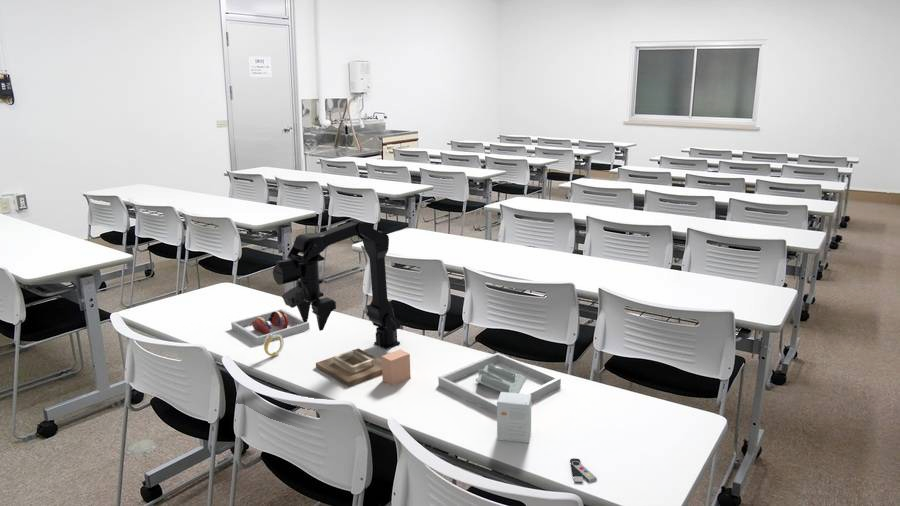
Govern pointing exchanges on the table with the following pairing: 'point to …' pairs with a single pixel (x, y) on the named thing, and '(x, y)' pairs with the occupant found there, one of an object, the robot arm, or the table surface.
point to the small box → (514, 417)
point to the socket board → (351, 367)
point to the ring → (266, 343)
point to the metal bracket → (500, 379)
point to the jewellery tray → (258, 340)
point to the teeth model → (275, 319)
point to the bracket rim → (447, 379)
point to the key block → (396, 367)
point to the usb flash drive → (580, 471)
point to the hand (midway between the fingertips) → (313, 326)
